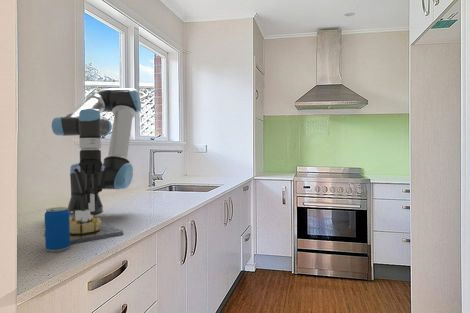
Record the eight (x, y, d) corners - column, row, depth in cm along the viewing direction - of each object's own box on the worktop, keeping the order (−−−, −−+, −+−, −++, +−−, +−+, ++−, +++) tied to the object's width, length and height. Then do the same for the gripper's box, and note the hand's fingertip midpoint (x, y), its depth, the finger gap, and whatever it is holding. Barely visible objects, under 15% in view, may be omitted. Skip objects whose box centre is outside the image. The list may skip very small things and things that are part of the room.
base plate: (44, 233, 122) (43, 210, 121) (102, 224, 134) (102, 203, 134) (59, 246, 106) (58, 219, 106) (123, 234, 119) (122, 210, 119)
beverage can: (46, 247, 105) (45, 208, 104) (70, 245, 107) (69, 206, 107) (44, 253, 99) (43, 211, 98) (69, 250, 101) (68, 209, 101)
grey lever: (105, 229, 120) (104, 217, 120) (70, 235, 113) (70, 222, 112) (84, 219, 137) (84, 209, 137) (53, 223, 130) (53, 213, 130)
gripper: (75, 149, 126) (76, 214, 127) (110, 149, 135) (112, 210, 135) (69, 149, 132) (70, 211, 133) (104, 149, 141) (105, 207, 141)
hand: (91, 211), depth 134 cm, fingers closed
